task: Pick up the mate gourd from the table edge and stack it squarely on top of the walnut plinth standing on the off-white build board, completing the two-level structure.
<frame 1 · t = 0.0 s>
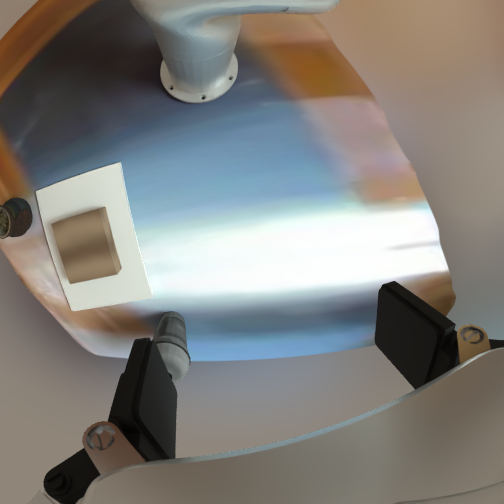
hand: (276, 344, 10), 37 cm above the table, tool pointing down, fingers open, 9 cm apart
mate gourd: (24, 213, 39), on the table
beverage cup: (172, 321, 50), on the table
build board: (90, 242, 43), on the table
walnut plinth: (89, 244, 42), resting on build board
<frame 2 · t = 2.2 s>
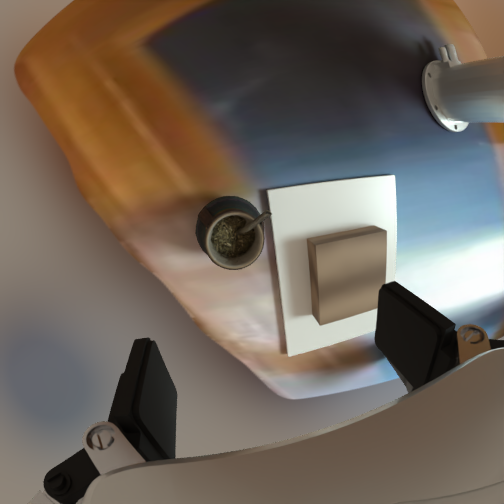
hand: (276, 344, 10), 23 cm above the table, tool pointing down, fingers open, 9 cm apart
mate gourd: (228, 222, 33), on the table
build board: (341, 268, 37), on the table
walnut plinth: (344, 270, 36), resting on build board
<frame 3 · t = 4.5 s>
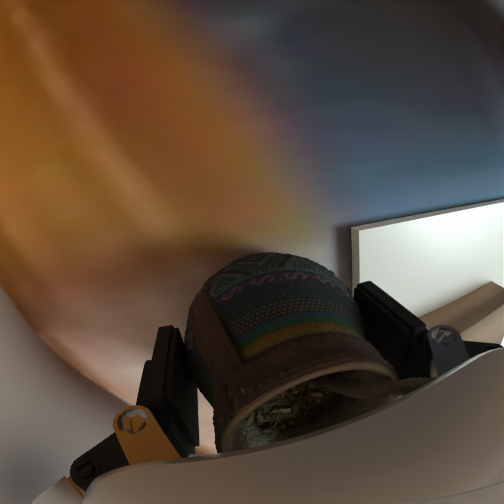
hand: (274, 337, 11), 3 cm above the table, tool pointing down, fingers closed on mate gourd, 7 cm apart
mate gourd: (261, 301, 14), on the table, touching gripper
build board: (438, 351, 18), on the table
walnut plinth: (443, 356, 17), resting on build board
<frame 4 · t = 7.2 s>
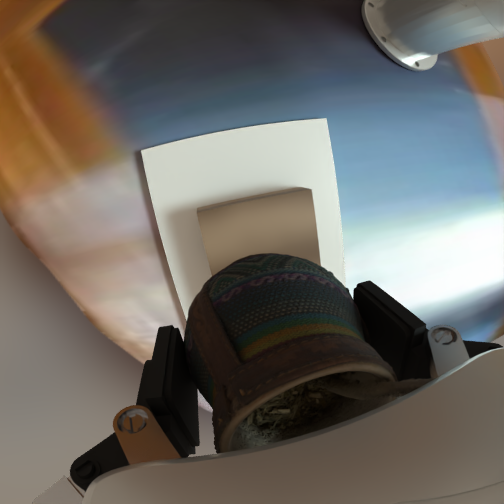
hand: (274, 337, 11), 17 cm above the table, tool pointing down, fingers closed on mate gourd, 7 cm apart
mate gourd: (260, 302, 14), point 14 cm above the table, touching gripper
build board: (258, 249, 28), on the table
walnut plinth: (260, 251, 27), resting on build board
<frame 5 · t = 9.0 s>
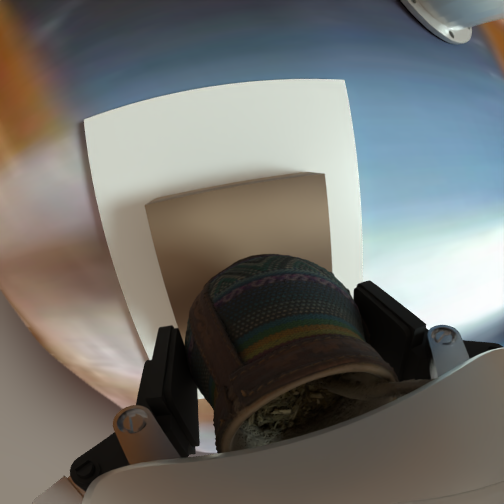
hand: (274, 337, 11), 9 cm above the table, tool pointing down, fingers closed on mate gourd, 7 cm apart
mate gourd: (261, 302, 14), point 6 cm above the table, touching gripper
build board: (243, 259, 20), on the table
walnut plinth: (245, 263, 19), resting on build board
when the fingers open (8 cm above the table, at t = 9.9 s): mate gourd drops 1 cm, resting on walnut plinth.
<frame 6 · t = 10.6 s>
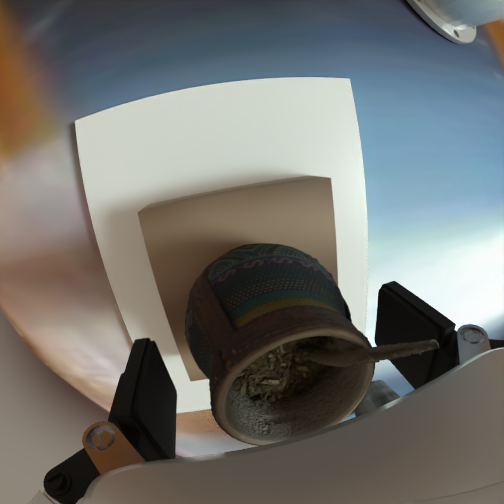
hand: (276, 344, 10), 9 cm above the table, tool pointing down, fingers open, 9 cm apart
mate gourd: (254, 289, 15), point 4 cm above the table, touching walnut plinth
beverage cup: (368, 394, 26), on the table
build board: (243, 268, 19), on the table
walnut plinth: (245, 273, 18), resting on build board
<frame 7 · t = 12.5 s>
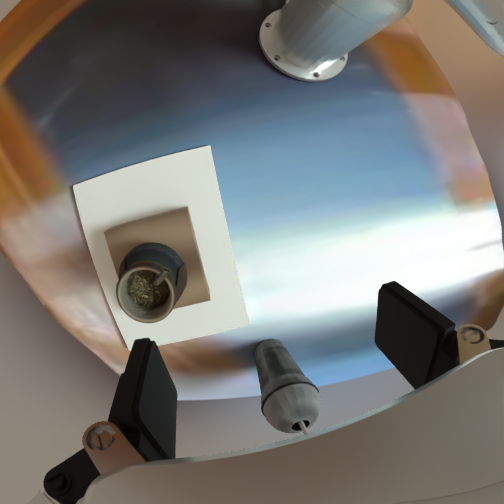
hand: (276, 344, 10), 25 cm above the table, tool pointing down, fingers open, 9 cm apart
mate gourd: (157, 265, 30), point 4 cm above the table, touching walnut plinth
beverage cup: (268, 350, 41), on the table
build board: (160, 257, 34), on the table
walnut plinth: (160, 259, 33), resting on build board
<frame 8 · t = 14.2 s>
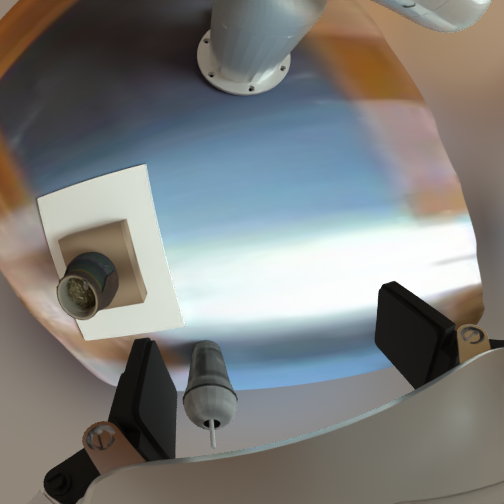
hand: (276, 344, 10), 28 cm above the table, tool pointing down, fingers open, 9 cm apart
mate gourd: (99, 270, 33), point 4 cm above the table, touching walnut plinth
beverage cup: (206, 350, 43), on the table
build board: (107, 262, 36), on the table
walnut plinth: (105, 264, 35), resting on build board
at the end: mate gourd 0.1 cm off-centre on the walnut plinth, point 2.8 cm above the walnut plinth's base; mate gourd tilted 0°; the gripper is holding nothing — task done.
